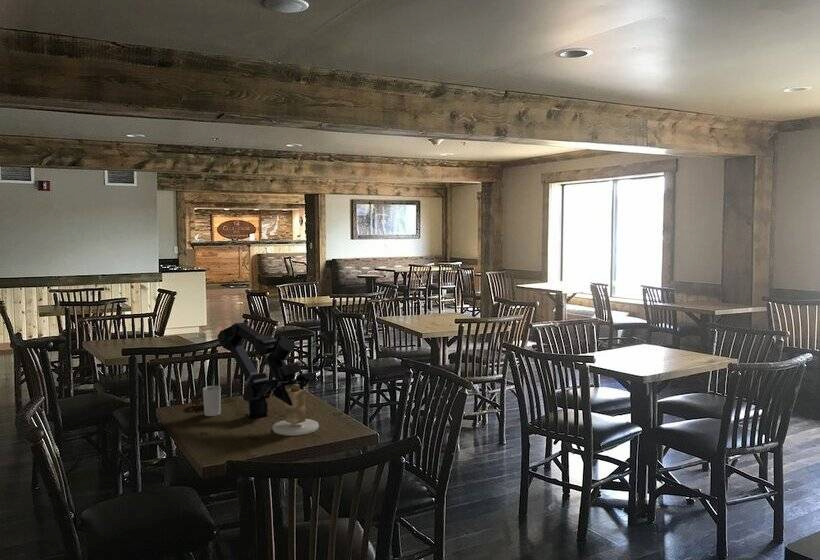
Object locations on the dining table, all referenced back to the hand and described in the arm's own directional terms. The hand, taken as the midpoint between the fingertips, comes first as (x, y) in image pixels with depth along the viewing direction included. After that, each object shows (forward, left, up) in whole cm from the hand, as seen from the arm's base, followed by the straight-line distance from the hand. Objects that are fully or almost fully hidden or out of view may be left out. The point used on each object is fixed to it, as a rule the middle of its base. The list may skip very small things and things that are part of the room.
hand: (297, 403), depth 224 cm
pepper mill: (-1, +1, -7) cm, 7 cm away
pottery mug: (-24, +44, -9) cm, 52 cm away
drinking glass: (-24, +32, -9) cm, 41 cm away
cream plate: (0, +1, -9) cm, 9 cm away
